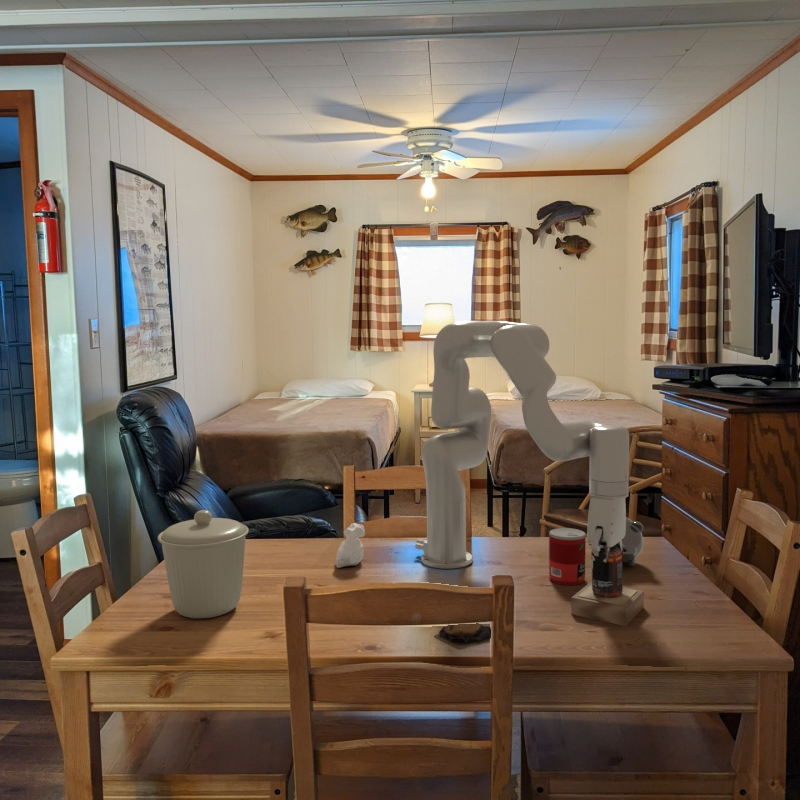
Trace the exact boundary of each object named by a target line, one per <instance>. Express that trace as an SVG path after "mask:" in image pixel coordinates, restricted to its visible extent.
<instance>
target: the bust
mask: <svg viewBox="0 0 800 800" xmlns="http://www.w3.org/2000/svg"><path fill="white" fill-rule="evenodd" d="M343 534H344V536H345V537H346V538H345V539H344V540H342V541H341V542H340V544H339V547H338V549H337V552H336V554H335V564H336V568H338V569H340V568H344V567H350V566H351V567H352V566H357V565H358V564H359V563H360V562H361V561H362V560H363V558H364V556H365V555H364V554H365V550H364V545H363V543H362V541H361V539H360V538H364V536H365V535H366V529H365V527H364V525H363V524H360V523H357V522H353V523H351V524H350V525H349V526H348V527H347V528H346V529H345V530H343Z"/></svg>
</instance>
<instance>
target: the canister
mask: <svg viewBox="0 0 800 800" xmlns="http://www.w3.org/2000/svg"><path fill="white" fill-rule="evenodd" d="M249 530H250V529H249V527H248V526H247V525H245V524H244V523H241V522H240V521H238V520H234V519H230V518H223V517H213V515H212V512H211V511H210V510H207V509H201V510H198V511H196V512H195V513H194V516H193V519H188V520H185V521H180V522H178V523H175V524H174V523H173V524H172V525H170V526H168V527H167V528H166V529H165V530H163V531H162V532H160V533H159V534H158V535H157V541H158V542H159V543H160V544H161V547H162V555H163V559H164V564H165V571H166V577H167V584H168V588H169V594H170V597H171V598H170V599H171V602H172V605H173V608H174V609H175V611H176V613H178V614H179V615H180V616H183V617H186V618H190V619H210V618H217V617H219V616H222V615H225V614H227V613H229V612H232V611H233V610H234V609H235V608H236V607H237V606H238V604H239V602H240V599H241V595H242V587H243V577H244V565H245V564H244V562H245V549H246V545H245V544H246V536H247V535H248V533H249Z"/></svg>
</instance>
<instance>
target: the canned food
mask: <svg viewBox="0 0 800 800" xmlns="http://www.w3.org/2000/svg"><path fill="white" fill-rule="evenodd" d="M548 535H549V536H548V544H549V545H548V550H549V551H548V565H549V566H548V568H549V569H548V575H549V579H550V581H552V582H553V583H555V584H559V585H562V586H578V585H581V584H583V583H584V581H585V579H586V546H587V545H586V543H587V539H586V532H585V531H583V530H580V529H576V528H571V527H560V528H559V527H558V528H553V529H551V530H549V534H548Z"/></svg>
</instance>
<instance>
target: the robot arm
mask: <svg viewBox="0 0 800 800" xmlns="http://www.w3.org/2000/svg"><path fill="white" fill-rule="evenodd" d="M549 351H550V340H549V337H548V334H547V332H545V330H544V329H543V328H542V327H540V326H538V325H536V324H531V323H530V324H529V323H519V322H512V321H502V320H461V321H455V322H451V323H448V324H446V325H445V326H443V327H442V328H441V329H440V330H439V331H438V333H437V335H436V336H435V338H434V342H433V351H432V352H433V367H434V371H433V380H432V381H433V383H432V396H431V407H430V410H431V411H430V414H431V417H430V418H431V421H432V423H433V424H434V425H435V427H437V428H438V429H442V430H453V429H458V431H453V432H452V431H451V432H445V433H438V434H436V435H434V436H431V437H429V438H428V439H427V440H426V441H425V442H424V444H423V446H422V447H421V448H422V449H421V460H422V461H421V462H422V466H423V472H424V477H425V491H426V492H425V493H426V494H425V495H426V498H425V499H426V540H425V539H420V538H417V540H416V542H415V545H414V548H415V550H416V549H417V550H421V551H423V554H422V555H421V557H420V559H421V563H422V564H424V565H425V566H426V567H430V568H435V569H442V570H443V569H447V570H448V569H450V570H451V569H459V568H464V567H467V566H469V565H470V564H472V562H473V555H472V554H471V553H470V552H468V551H467V528H466V527H467V520H466V519H467V513H466V512H467V511H466V510H467V509H466V507H467V505H466V487H465V484H464V482H463V480H462V478H461V476H460V473H459V472H460V471H464V470H468V469H469V470H470V469H471V468H475V467H478V466H480V465H481V464H483V462H484V461H485V460H486V458H487V454H488V450H489V441H490V431H491V430H490V429H491V422H492V421H491V419H492V406H491V402H490V399H489V397H488V396H487V394H486V393H485V392H484V390H482V389H480V388H478V387H470V379H471V375H470V369H469V366H468V363H467V361H466V359H468V358H471V359H472V358H490V357H492V358H493V357H495V358H496V360H497V362H498V363H499V365H500V366H501V368H502V369H503V370H504V372H505V374H506V375H507V376H508V378H509V379H510V381H511V382H512V383H513V385H514V387H515V389H516V390H517V391H518V392H519V394H520V396H521V398H522V399H521V412H522V416H523V417H522V418H523V422H524V423H523V424H524V425H525V428H526V430H527V431H528V433H529V435H530V436H531V438H532V440H533V441H534V443H535V444H536V446H537V447H538V449H540V451H541V452H542V453H543V454H544V455H545V457H547V458H548V459H550V460H552V461H553V462H554V461H555V462H558V463H559V462H560V463H561V462H568V461H572V460H575V459H581V458H582V459H583V458H586V457H589V466H588V467H589V473H588V476H589V483H588V485H589V486H588V488H589V489H588V490H589V492H588V493H589V496H590V500H589V506H588V513H587V514H588V517H587V530H586V532H587V535H586V543H587V545H588V546H590V549H591V551H592V554H593V557H592V559H593V579H594V580H599V581H604V582H608V581H609V580H610V562H608V557H609V551H610V548H611V547H613V546H614V545H616V544H617V545H616V546H617V547H618V548H619V549H620V550H621V551H622V550H623V544H622V540H623V538H624V537H625V533H626V517H627V509H626V499H627V498H628V497H629V490H630V489H629V481H630V480H629V478H630V476H629V475H630V473H629V472H630V432H629V430H628V428H627V427H625V426H623V425H619V424H618V425H616V424H602V423H599V422H596V421H595V422H594V421H591V420H586V419H585V420H583V419H582V420H581V419H580V420H575V421H568V422H567V421H566V422H563V423H561V421H560V420H559V418H558V417H557V416H556V414H555V413H554V411H553V410H552V408H551V406H550V404H549V401H548V392H549V391H550V390H551V389H552V388H553V387H554V385H555V384H556V381H557V374H556V372H555V371H554V370H553V368H552V366H550V364H549V363H548V361H547V360H546V358H545V357H546V356H547V355H548V353H549ZM601 543H607V545H606V546H605V545H600V544H601ZM600 549H605V553H603V551H600Z"/></svg>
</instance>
